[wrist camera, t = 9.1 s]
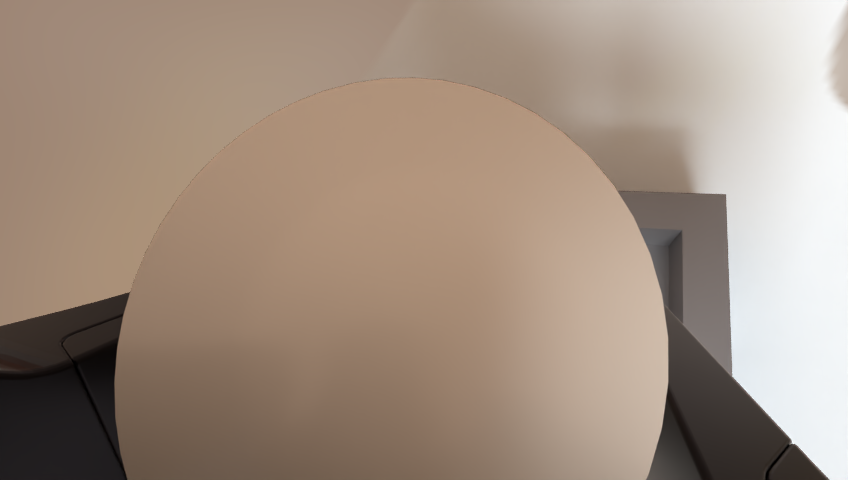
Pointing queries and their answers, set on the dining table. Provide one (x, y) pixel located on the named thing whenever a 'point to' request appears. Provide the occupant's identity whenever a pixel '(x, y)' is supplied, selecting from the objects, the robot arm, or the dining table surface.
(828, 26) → the dining table surface
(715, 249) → the tray
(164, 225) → the canister
